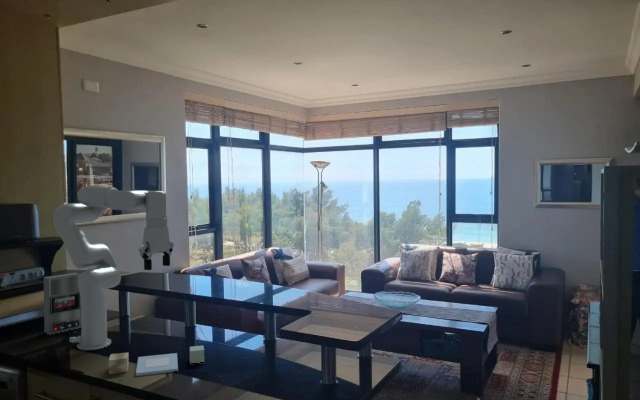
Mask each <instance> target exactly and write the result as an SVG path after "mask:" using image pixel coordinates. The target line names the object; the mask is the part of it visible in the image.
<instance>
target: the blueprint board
mask: <svg viewBox="0 0 640 400" xmlns="http://www.w3.org/2000/svg"><path fill="white" fill-rule="evenodd" d="M178 362H179V361H178V352H176V353H165V354H155V355H145V356H137V362H136V370H135V376H136V377H140V376H150V375H159V374H166V373H168V374H169V373H175V372H174V371H177V372H179V366H178V365H179V363H178Z"/></svg>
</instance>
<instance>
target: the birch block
mask: <svg viewBox="0 0 640 400" xmlns="http://www.w3.org/2000/svg"><path fill="white" fill-rule="evenodd" d="M129 358H130V357H129V352H120V353H111V354H110V355H109V358H108V374H109V375H111V374H119V373H128V371H129V364H130V363H129V362H130V361H129V360H130V359H129Z"/></svg>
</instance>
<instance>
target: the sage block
mask: <svg viewBox="0 0 640 400" xmlns="http://www.w3.org/2000/svg"><path fill="white" fill-rule="evenodd" d="M200 362H204V363H205V347H204V345H194V346H192V345H191V346H189V363H190V365H192V364H191V363H199V364H201V363H200Z"/></svg>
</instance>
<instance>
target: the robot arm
mask: <svg viewBox="0 0 640 400" xmlns="http://www.w3.org/2000/svg"><path fill="white" fill-rule="evenodd" d="M167 198H168V197H167V193H166V192H165V191H164V190H145V189H144V190H143V189H141V190H138V189H137V190H119V189H117V188H116V187H114V186H108V185H86V186H83V187H81V188H80V189H79V190H78V192H77V200H78V202H70V203H64V204H62V205H60V206H58V207H57V208H56V209H55V210H54V213H53V216H52V217H53V219H52V220H53V225H54V228H55V230H56V232H57V234H58V235H59V237H60V238H61V240H62V242H63V244H64V246H65V248H66V251H67V253H68V255H69V258H70V259H71V262H72V264H73V265H74V267H75V268H77V269H86V270H84V271H83V272H81V273H79V274H80V276H79V277H78V287H79V291H80V298H81V330H80V333H81V335H78V336H70V337H69V343H71V344H75V343H76V346H77V349H79V350H80V351H95V350H96V351H97V350H100V349H105V348H107V347H109V346H110V345H111V344H112V339H111V338H108V324H107V323H108V312H107V311H108V310H107V307H108V305H107V298H106V296H105V295H104V292H103V291H104V290H107V289H112V288H115V287H117V286H118V285H119V284H120V282H121V281H122V280H121V279H122V274H121V271H120V268H119V266H118V264H117V261H116V259H115V258H114V255H113V252H112V251H111V249H110V248H109V247H108V245H106V244H104V243H101V242H95V243H90V241H89V239H88V238H87V235H86V234H85V232H84V231H83V230H82V229H81V228H80V227H78V226H77V225H76V224H84V223H85V224H87V223H92V222H94V221H97V220H98V219H99V218H100V217H101V216H102V215H103V214H104V213H105V212H106V211H107V209H110V210H115V211H129V212H131V211H142V210H145V227H144V231H143V236H142V245H141V247H139V248H138V252H139V255H140V257H142V259H143V269H144V270H145V271H152V270H153V269H152V268H153V267H152V266H153V265H152V264H153V263H152V262H153V261H152V260H153V259H151V258H152V257H153V255H154V254H155V255H156V254H161V253H162V266H164V267H169V266H171V255H172V252H173V249H174V246H175V245H174V242H172V241H170V240H171V239H170V233H169V232H170V231H169V227H168V214H167V211H168V209H167V207H168V206H167V204H168V203H167ZM87 268H88V269H87ZM90 268H91V269H90ZM104 347H105V348H104Z"/></svg>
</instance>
